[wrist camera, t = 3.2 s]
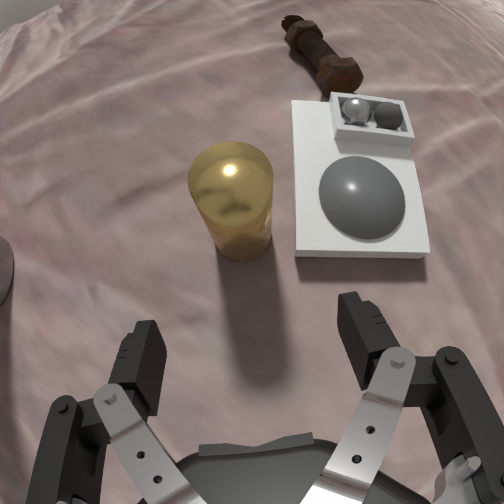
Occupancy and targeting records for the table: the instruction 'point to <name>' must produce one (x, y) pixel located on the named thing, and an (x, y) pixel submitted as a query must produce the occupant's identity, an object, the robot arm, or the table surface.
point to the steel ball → (356, 111)
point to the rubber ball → (388, 116)
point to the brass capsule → (234, 197)
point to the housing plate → (354, 184)
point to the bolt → (322, 57)
